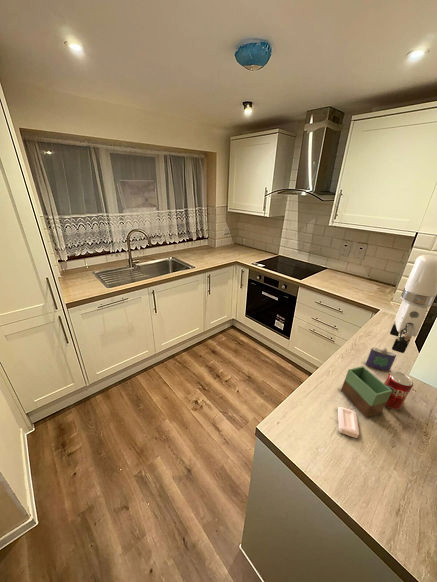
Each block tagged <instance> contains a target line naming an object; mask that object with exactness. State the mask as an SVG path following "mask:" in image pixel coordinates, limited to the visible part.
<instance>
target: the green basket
mask: <svg viewBox="0 0 437 582" xmlns="http://www.w3.org/2000/svg"><path fill="white" fill-rule="evenodd" d="M344 381H346V382H347V383H348V384H349V385H350V386H351V387H352V388H353V389H354V390H355V391H356V392H357V393H358V394H359V395H360V396H361V397H362V398H363V399H364V400H365V401H366V402H367V403H368V404H369V405H370V406H371V407H372V406H375V405H379V404H382V403H385V402H387V401H388V399H389V397H390V395H391V393H392V390H391V389H390V388H388V387H387V386H386V385H385V384H384V383H385V382H383V381H381V380H380V379H379V378H378V377H377V376H376V375H375V374H373V373H372V372H371V371H370V370H369V369H368V368H366V367H365V366H363V365H361V366H357V367H353V368H349V369H348V370H347V373H346V375H345V379H344Z"/></svg>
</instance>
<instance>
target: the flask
mask: <svg viewBox="0 0 437 582" xmlns="http://www.w3.org/2000/svg"><path fill="white" fill-rule="evenodd" d="M396 358H397V354H396V353H395V352H393V351H392V352H391V351H388V348H387V347H384V348H383V349H380V348H378V347H372V348H371V349H370V351H369V354H368V357H367V359H366V362H365V366H366V367H368V368H371V369H374V370H376V371H381V372H385V373H386V372H387V373H390V372H391V369H392V366H393V365H394V362H395V360H396Z"/></svg>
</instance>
